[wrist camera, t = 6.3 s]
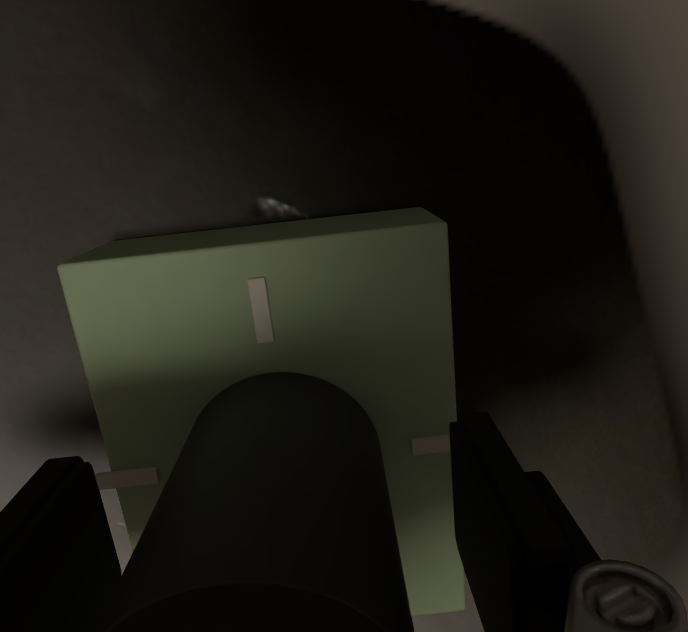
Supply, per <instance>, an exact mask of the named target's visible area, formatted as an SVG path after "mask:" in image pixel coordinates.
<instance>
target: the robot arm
mask: <svg viewBox="0 0 688 632" xmlns="http://www.w3.org/2000/svg"><path fill="white" fill-rule="evenodd" d="M449 433H450V452H451V471H452V490H453V509H454V528H455V538H456V544H457V549H458V552H459V555H460V558H461V561H462V564H463V567H464V570H465V573H466V576H467V579H468V582H469V586H470V589H471V592H472V595H473V598H474V601H475V604H476V607H477V610H478V613H479V616H480V619H481V622H482V625H483V628H484V631H485V632H688V620H687V612H686V609H685V606H684V603H683V600H682V598H681V597H680V596H679V594H678V593H677V591H676V590H675V589H674V587H673V586H672V585H670V584H669V583H668V582H667V581H665V580H664V579H663V578H662V577H661V576H659V575H657V574H656V573H654V572H652V571H650V570H648V569H646V568H644V567H642V566H639V565H636V564H632V563H629V562H626V561H618V560H601V559H600V557H599V556H598V554H597V553H596V552H595V550H594V549H593V547H592V546H591V544H590V543H589V541H588V540H587V538H586V537H585V535H584V534H583V532H582V531H581V529H580V528H579V526H578V525H577V523H576V522H575V520H574V519H573V517H572V516H571V514H570V513H569V511H568V510H567V508H566V507H565V505H564V504H563V502H562V501H561V499H560V498H559V496H558V495H557V493H556V492H555V490H554V489H553V487H552V486H551V484H550V483H549V481H548V480H547V478H546V477H545V476H544V474H543V473H542V472H540V471H532V472H524V471H523V469H522V468H521V466H520V464H519V463H518V461H517V459H516V458H515V456H514V455H513V453H512V451H511V450H510V448H509V446H508V445H507V443H506V442H505V440H504V438H503V437H502V435H501V433H500V432H499V430H498V428H497V427H496V425H495V424H494V422H493V420H492V419H491V417H490V415H489V414H488V413H487V411H484V412H475V413H466V414H459V416H458V421H457V422H450V424H449ZM120 579H121V568H120V564H119V560H118V556H117V553H116V549H115V546H114V542H113V539H112V535H111V531H110V528H109V524H108V521H107V517H106V513H105V510H104V506H103V503H102V499H101V495H100V492H99V488H98V485H97V481H96V477H95V474H94V470H93V467H92V465H91V464H90V463H89V462H84V461H83V460H82V458H81V457H79V456H73V457H64V458H55V459H48V460H47V461H46V462H45V463H44V464H43V465H42V466H41V467H40V468H39V469H38V470H37V472H36V473H35V474H34V475H33V476H32V477H31V478H30V479H29V481H28V482H27V483H26V484H25V485H24V486H23V487H22V488H21V490H20V491H19V492H18V493H17V494H16V495H15V496H14V497H13V499H12V500H11V501H10V502H9V503H8V504H7V505H6V506H5V507H4V509H3V510H2V511H1V512H0V632H95V631H96V629H97V627H98V625H99V623H100V621H101V619H102V616H103V614H104V612H105V610H106V608H107V606H108V604H109V602H110V600H111V597H112V595H113V593H114V591H115V589H116V587H117V585H118V583H119V581H120Z"/></svg>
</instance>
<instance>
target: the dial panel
mask: <svg viewBox="0 0 688 632" xmlns="http://www.w3.org/2000/svg"><path fill="white" fill-rule="evenodd" d="M57 269H58V273H59V277H60V281H61V284H62V288H63V292H64V295H65V299H66V303H67V307H68V310H69V314H70V318H71V322H72V325H73V329H74V333H75V337H76V340H77V344H78V348H79V351H80V355H81V359H82V363H83V366H84V370H85V374H86V378H87V381H88V385H89V389H90V393H91V396H92V400H93V404H94V407H95V411H96V415H97V419H98V422H99V426H100V430H101V434H102V437H103V441H104V445H105V448H106V452H107V456H108V460H109V463H110V467H111V472H102V473H97V474H96V475H95V477H96V481H97V485H98V488H99V490H103V489H112V488H116V490H117V493H118V497H119V501H120V504H121V508H122V512H123V516H124V519H125V523H126V527H127V531H128V534H129V538H130V542H131V546H132V549H133V551H134V549H135V547H136V545H137V543H138V541H139V539H140V537H141V534H142V532H143V530H144V528H145V526H146V524H147V522H148V520H149V518H150V516H151V513H152V511H153V509H154V507H155V505H156V503H157V501H158V499H159V497H160V495H161V492H162V490H163V488H164V486H165V484H166V482H167V480H168V478H169V476H170V474H171V471H172V469H173V467H174V465H175V463H176V461H177V459H178V457H179V455H180V453H181V450H182V448H183V446H184V444H185V442H186V440H187V438H188V436H189V434H190V432H191V429H192V427H193V425H194V423H195V421H196V420H197V418H198V416H199V414H200V413H201V412H202V410H203V409H204V407H205V406H206V405H207V404H208V403H209V402H210V401H211V400H212V399H213V398H214V397H215V396H216V395H218V394H219V393H220V392H221V391H223V390H224V389H226V388H227V387H229V386H231V385H233V384H234V383H236V382H239V381H241V380H243V379H246V378H249V377H252V376H256V375H259V374H266V373H272V372H292V373H301V374H306V375H310V376H314V377H317V378H320V379H323V380H325V381H327V382H329V383H332V384H334V385H336V386H337V387H339V388H340V389H342V390H343V391H345V392H346V393H348V394H349V395H350V396H351V397H352V398H354V399H355V400H356V401H357V402H358V403H359V404H360V406H361V407H362V408H363V409H364V410H365V412H366V413H367V415H368V416H369V418H370V419H371V421H372V423H373V425H374V427H375V429H376V432H377V435H378V438H379V442H380V447H381V453H382V458H383V464H384V469H385V475H386V480H387V486H388V491H389V496H390V502H391V507H392V513H393V518H394V524H395V529H396V535H397V540H398V546H399V551H400V557H401V562H402V568H403V573H404V578H405V584H406V589H407V595H408V600H409V606H410V611H411V616H418V615H427V614H436V613H445V612H454V611H463V610H465V608H466V599H465V578H464V567H463V564H462V561H461V558H460V555H459V552H458V549H457V544H456V538H455V528H454V509H453V490H452V471H451V452H450V433H449V424H450V422H457V413H456V393H455V372H454V351H453V331H452V310H451V289H450V269H449V248H448V228H447V224H446V222H445V221H443V220H441V219H440V218H438V217H436V216H435V215H433V214H432V213H430V212H428V211H427V210H425V209H424V208H422V207H415V208H406V209H397V210H388V211H379V212H370V213H361V214H352V215H343V216H334V217H325V218H316V219H306V220H297V221H288V222H279V223H270V224H261V225H252V226H243V227H234V228H225V229H216V230H207V231H198V232H189V233H180V234H171V235H162V236H152V237H143V238H134V239H125V240H116V241H111V242H109V243H107V244H104V245H102V246H100V247H98V248H95V249H93V250H91V251H88V252H86V253H84V254H82V255H79V256H77V257H75V258H72V259H70V260H68V261H66V262H63V263H61V264H59V265H58V267H57Z"/></svg>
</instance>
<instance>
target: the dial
mask: <svg viewBox="0 0 688 632" xmlns="http://www.w3.org/2000/svg"><path fill="white" fill-rule="evenodd" d="M95 632H414V628H413V622H412V617H411V611H410V606H409V600H408V595H407V589H406V584H405V578H404V573H403V568H402V562H401V557H400V551H399V546H398V540H397V535H396V529H395V524H394V518H393V513H392V507H391V502H390V496H389V491H388V486H387V480H386V475H385V469H384V464H383V458H382V453H381V447H380V442H379V438H378V435H377V432H376V429H375V427H374V425H373V423H372V421H371V419H370V418H369V416H368V415H367V413H366V412H365V410H364V409H363V408H362V407H361V406H360V404H359V403H358V402H357V401H356V400H355V399H354V398H352V397H351V396H350V395H349V394H348V393H346V392H345V391H343V390H342V389H340V388H339V387H337V386H336V385H334V384H332V383H329V382H327V381H325V380H323V379H320V378H317V377H314V376H310V375H306V374H301V373H292V372H272V373H266V374H259V375H256V376H252V377H249V378H246V379H243V380H241V381H239V382H236V383H234V384H233V385H231V386H229V387H227V388H226V389H224V390H223V391H221V392H220V393H219V394H218V395H216V396H215V397H214V398H213V399H212V400H211V401H210V402H209V403H208V404H207V405H206V406H205V407H204V409H203V410H202V412H201V413H200V414H199V416H198V418H197V420H196V421H195V423H194V425H193V427H192V429H191V432H190V434H189V436H188V438H187V440H186V442H185V444H184V446H183V448H182V450H181V453H180V455H179V457H178V459H177V461H176V463H175V465H174V467H173V469H172V471H171V474H170V476H169V478H168V480H167V482H166V484H165V486H164V488H163V490H162V492H161V495H160V497H159V499H158V501H157V503H156V505H155V507H154V509H153V511H152V513H151V516H150V518H149V520H148V522H147V524H146V526H145V528H144V530H143V532H142V534H141V537H140V539H139V541H138V543H137V545H136V547H135V549H134V551H133V553H132V555H131V558H130V560H129V562H128V564H127V566H126V568H125V570H124V572H123V574H122V576H121V579H120V581H119V583H118V585H117V587H116V589H115V591H114V593H113V595H112V597H111V600H110V602H109V604H108V606H107V608H106V610H105V612H104V614H103V616H102V619H101V621H100V623H99V625H98V627H97V629H96V631H95Z"/></svg>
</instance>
